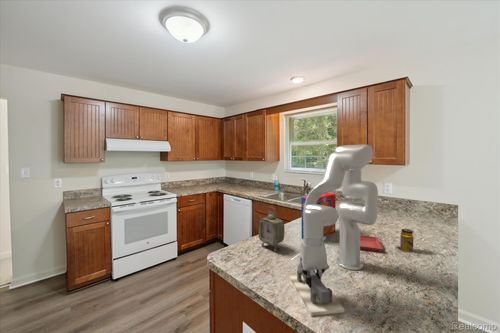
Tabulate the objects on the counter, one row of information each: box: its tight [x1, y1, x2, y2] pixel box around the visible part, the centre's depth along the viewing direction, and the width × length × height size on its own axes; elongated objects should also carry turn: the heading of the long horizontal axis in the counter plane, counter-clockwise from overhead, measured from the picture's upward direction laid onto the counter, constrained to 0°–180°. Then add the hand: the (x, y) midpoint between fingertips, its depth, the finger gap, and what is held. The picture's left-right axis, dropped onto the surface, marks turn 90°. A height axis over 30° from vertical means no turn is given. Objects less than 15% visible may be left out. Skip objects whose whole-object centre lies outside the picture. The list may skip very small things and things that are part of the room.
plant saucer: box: [360, 234, 384, 253], centre depth 131 cm, size 18×18×3 cm
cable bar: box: [302, 267, 330, 303], centre depth 85 cm, size 20×3×4 cm, turn 8°
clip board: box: [288, 269, 345, 317], centre depth 85 cm, size 24×12×5 cm, turn 8°
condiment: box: [395, 228, 416, 255], centre depth 123 cm, size 7×8×12 cm
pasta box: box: [300, 192, 337, 240], centre depth 148 cm, size 28×8×28 cm, turn 128°
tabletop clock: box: [257, 206, 285, 252], centre depth 129 cm, size 14×9×25 cm, turn 40°
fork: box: [290, 252, 300, 261], centre depth 120 cm, size 3×20×2 cm, turn 135°
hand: (313, 284), depth 85 cm, fingers closed on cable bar, 3 cm apart
